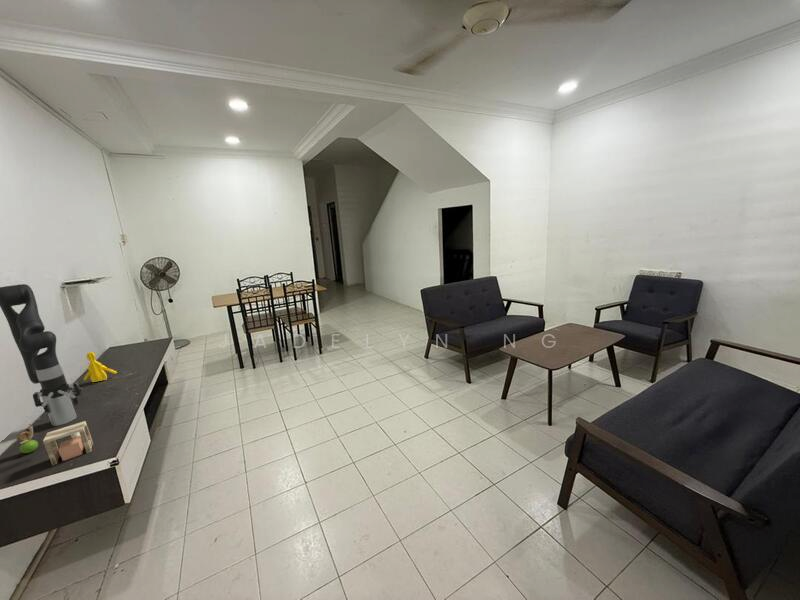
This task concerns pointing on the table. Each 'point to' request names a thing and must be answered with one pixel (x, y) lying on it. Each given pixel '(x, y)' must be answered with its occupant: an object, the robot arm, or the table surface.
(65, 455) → the cube base joystick
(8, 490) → the table surface
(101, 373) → the figure statuette
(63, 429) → the beige u-shaped block
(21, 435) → the snail figurine
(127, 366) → the table surface
